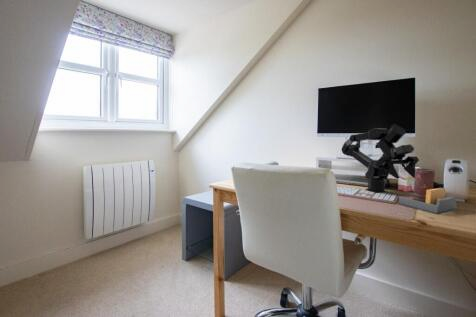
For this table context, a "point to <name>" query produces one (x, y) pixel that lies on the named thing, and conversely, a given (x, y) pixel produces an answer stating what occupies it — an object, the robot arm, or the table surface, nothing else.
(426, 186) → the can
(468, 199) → the table surface
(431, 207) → the grey shallow open box
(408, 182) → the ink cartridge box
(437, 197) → the wedge
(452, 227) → the table surface
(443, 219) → the table surface
